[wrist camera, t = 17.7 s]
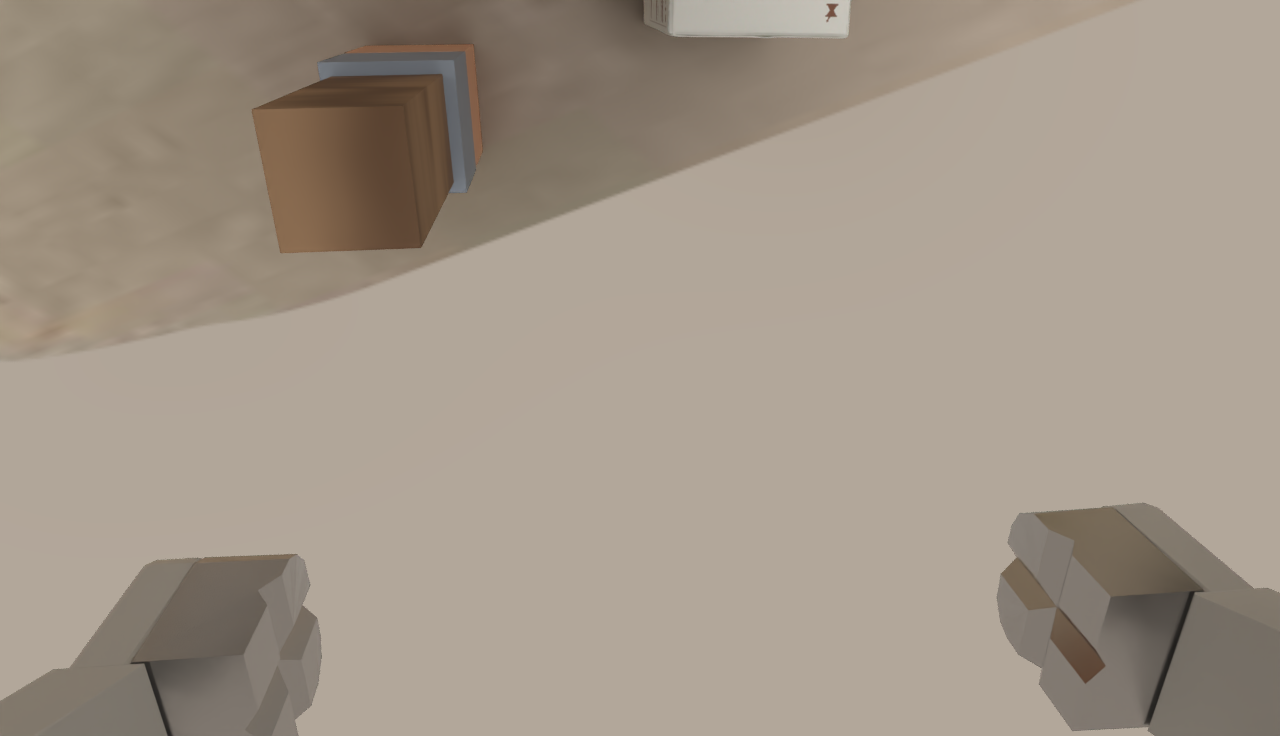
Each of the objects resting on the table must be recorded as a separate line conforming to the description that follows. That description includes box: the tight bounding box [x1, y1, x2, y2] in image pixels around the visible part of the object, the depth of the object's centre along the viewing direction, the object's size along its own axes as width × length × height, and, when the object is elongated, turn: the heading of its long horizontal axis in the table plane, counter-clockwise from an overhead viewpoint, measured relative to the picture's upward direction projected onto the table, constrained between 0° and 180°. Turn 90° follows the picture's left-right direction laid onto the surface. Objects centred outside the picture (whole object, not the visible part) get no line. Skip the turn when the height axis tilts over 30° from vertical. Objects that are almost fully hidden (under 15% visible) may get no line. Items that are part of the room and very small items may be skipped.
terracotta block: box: [345, 44, 483, 166], centre depth 42 cm, size 6×6×5 cm
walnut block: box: [252, 74, 454, 253], centre depth 31 cm, size 4×4×10 cm
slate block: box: [317, 51, 476, 193], centre depth 37 cm, size 6×6×5 cm
